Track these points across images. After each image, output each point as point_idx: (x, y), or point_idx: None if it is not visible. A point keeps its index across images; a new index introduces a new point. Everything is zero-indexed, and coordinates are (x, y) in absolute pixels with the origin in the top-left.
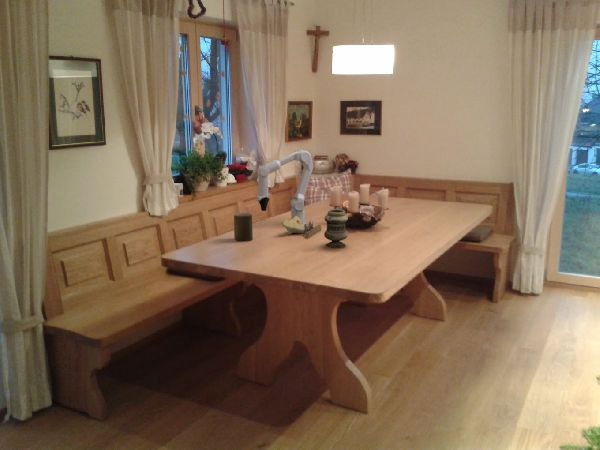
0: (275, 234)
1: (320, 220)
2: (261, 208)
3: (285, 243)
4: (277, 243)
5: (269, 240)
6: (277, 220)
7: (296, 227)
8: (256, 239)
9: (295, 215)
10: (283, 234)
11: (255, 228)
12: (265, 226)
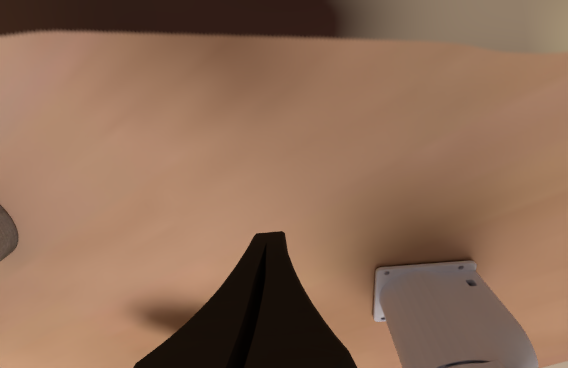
0: (171, 289)
1: (561, 327)
2: (246, 254)
3: (86, 364)
4: (61, 348)
5: (67, 313)
6: (556, 124)
7: None
8: (28, 266)
9: (400, 360)
10: (195, 313)
11: (222, 124)
12: (315, 154)
